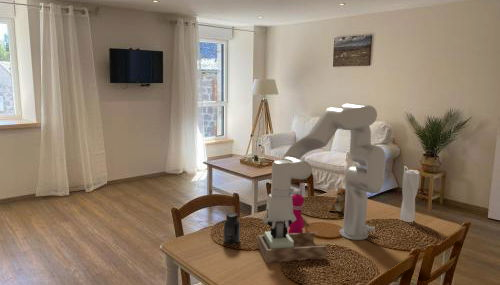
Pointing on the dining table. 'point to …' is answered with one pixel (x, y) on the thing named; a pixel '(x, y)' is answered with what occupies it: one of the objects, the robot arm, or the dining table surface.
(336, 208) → the stuffed squirrel
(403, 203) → the skyscraper
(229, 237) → the supplement bottle
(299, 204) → the pepper mill
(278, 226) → the base with upright peg
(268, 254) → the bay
